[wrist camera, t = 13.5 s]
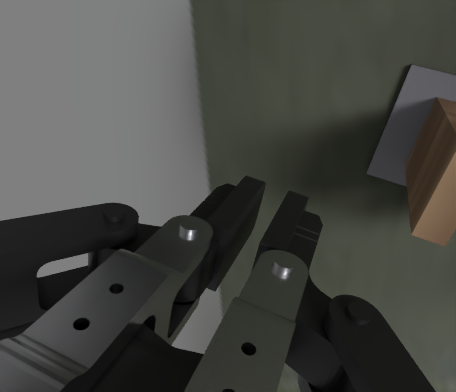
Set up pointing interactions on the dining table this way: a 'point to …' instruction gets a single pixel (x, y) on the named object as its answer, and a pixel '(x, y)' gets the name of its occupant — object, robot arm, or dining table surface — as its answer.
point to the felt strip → (409, 120)
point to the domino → (434, 175)
